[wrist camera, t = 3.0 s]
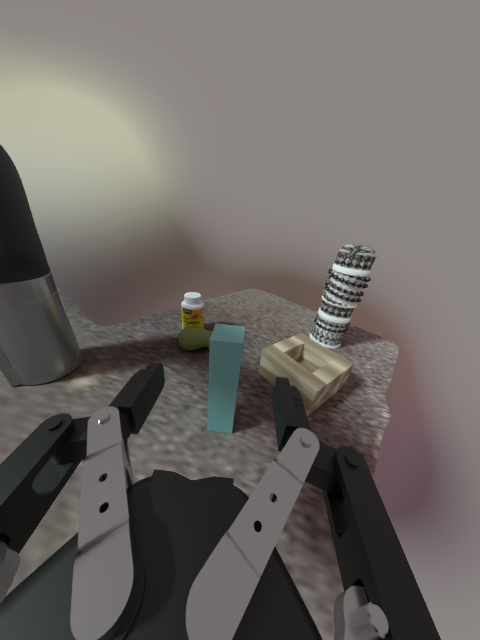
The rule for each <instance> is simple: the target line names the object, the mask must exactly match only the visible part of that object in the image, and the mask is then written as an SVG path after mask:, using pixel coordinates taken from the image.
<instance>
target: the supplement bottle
mask: <svg viewBox="0 0 480 640" xmlns="http://www.w3.org/2000/svg"><path fill="white" fill-rule="evenodd" d="M181 309H182V329H183V328H185V327H191V326H192V327H200V328H203V329H204V303H203V302H202V301H201V295H200V294H199V293H194V292H189V293H186V294H185V295H184V301H183V302H182V303H181Z"/></svg>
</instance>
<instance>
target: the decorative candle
mask: <svg viewBox="0 0 480 640" xmlns="http://www.w3.org/2000/svg"><path fill="white" fill-rule="evenodd" d="M338 251H339V253H338V255H337V258H336V261H335V263H334V265H333V268H331V269H329V271H328V273H329V274H330V276H329V277H328V278H326V279H327V280H326V282H327V283H326V284H325V286H324V287H325V289H326V290H325V291H323V296H322V299H323V301H322V304H321V307H320V308H319V311H318V313H317V314H316V317H317V318H315V320H314V322H315V323H313V325H312V329H311V333H310V335H309V336H310V339H312V340H314V341H315V342H317V343H319V344H321V345H322V346H324V347H326V348H329V349H336V348H339V347H340V345H341V342H343V337H345V334H346V333H345V332H346V331H347V329H348V326H350V322H349V321H350V319H351V317H352V316H351V314H352V312H353V310H354V308H356V307H357V305H358V303H357V302H360V301H361V299H360V298H359V297H360V296H363V295H364V293H363V292H361V289H362V288H367V287H368V285H367V284H365V283H364V282H368V281H370V280H371V278H369V274H370V272H371V267H372V265H373V262H374V260H375V258H376V256H377V255H376V254H375V250H374V248H373V247H369V246H363V245H356V244H346V245H344V246H343V247H342V248H341V249H340V250H338ZM332 271H333V272H332Z"/></svg>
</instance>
